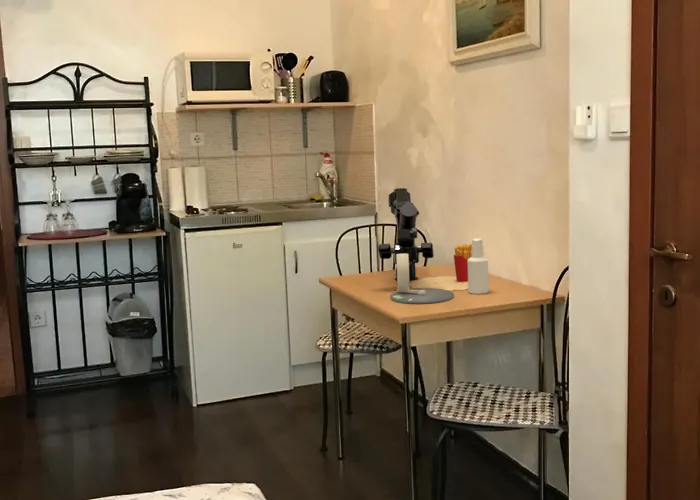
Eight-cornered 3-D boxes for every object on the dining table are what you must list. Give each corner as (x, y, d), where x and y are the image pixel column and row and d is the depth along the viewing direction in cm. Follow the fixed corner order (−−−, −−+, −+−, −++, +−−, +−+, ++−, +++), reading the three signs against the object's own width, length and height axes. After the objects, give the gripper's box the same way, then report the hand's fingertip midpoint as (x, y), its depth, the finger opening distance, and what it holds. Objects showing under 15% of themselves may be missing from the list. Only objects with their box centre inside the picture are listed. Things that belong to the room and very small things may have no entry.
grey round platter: (429, 288, 273) (429, 281, 272) (466, 297, 254) (466, 290, 254) (378, 296, 262) (378, 290, 262) (413, 307, 244) (413, 300, 244)
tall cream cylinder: (420, 291, 261) (418, 254, 259) (414, 294, 258) (412, 256, 256) (400, 289, 265) (399, 253, 263) (394, 292, 262) (392, 255, 260)
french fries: (458, 282, 280) (457, 246, 278) (452, 280, 284) (451, 245, 282) (480, 279, 283) (480, 244, 281) (474, 277, 287) (473, 242, 285)
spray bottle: (490, 290, 264) (489, 237, 261) (487, 294, 258) (485, 240, 255) (470, 289, 266) (468, 237, 264) (466, 294, 260) (465, 240, 257)
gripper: (377, 220, 270) (374, 257, 261) (431, 219, 266) (430, 256, 257) (381, 240, 279) (378, 276, 269) (434, 239, 275) (432, 275, 266)
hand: (404, 270), depth 265 cm, fingers closed
